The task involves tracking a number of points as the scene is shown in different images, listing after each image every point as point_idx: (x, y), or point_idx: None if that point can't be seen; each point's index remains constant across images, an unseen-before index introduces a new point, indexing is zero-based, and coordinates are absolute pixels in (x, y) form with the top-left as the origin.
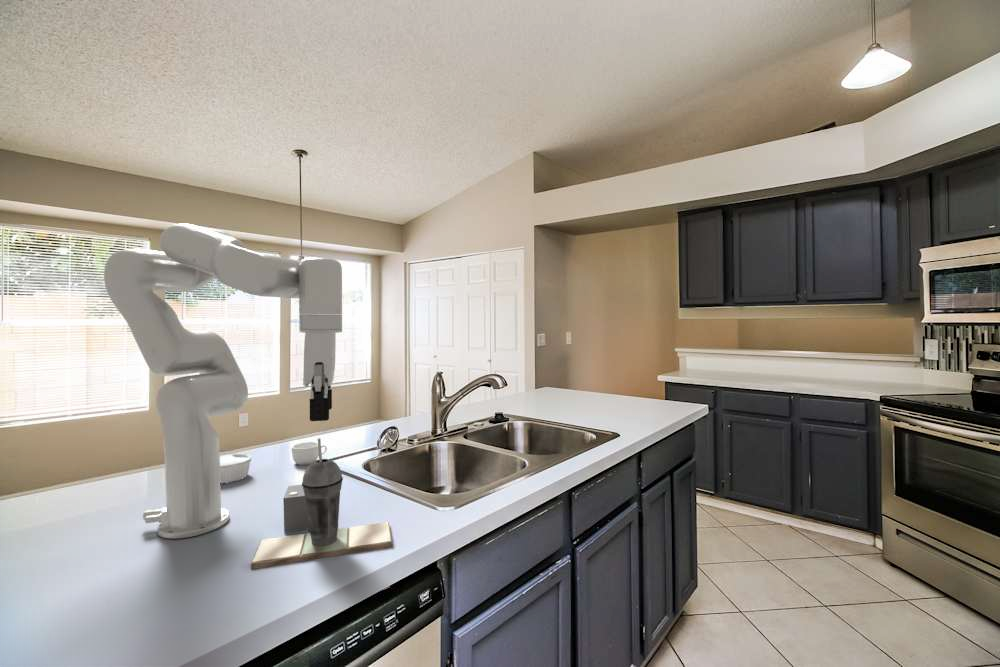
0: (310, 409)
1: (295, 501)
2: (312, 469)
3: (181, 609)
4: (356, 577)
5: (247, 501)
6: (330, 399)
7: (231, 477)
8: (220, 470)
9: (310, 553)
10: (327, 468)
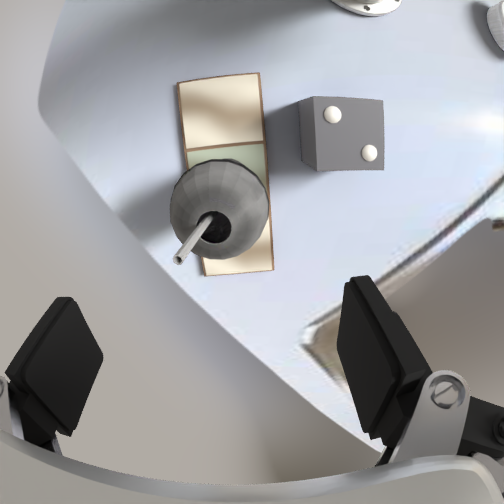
0: (33, 334)
1: (312, 120)
2: (183, 202)
3: (104, 47)
4: (134, 234)
5: (432, 41)
6: (349, 387)
7: (494, 31)
8: (498, 16)
9: (188, 164)
10: (183, 241)
